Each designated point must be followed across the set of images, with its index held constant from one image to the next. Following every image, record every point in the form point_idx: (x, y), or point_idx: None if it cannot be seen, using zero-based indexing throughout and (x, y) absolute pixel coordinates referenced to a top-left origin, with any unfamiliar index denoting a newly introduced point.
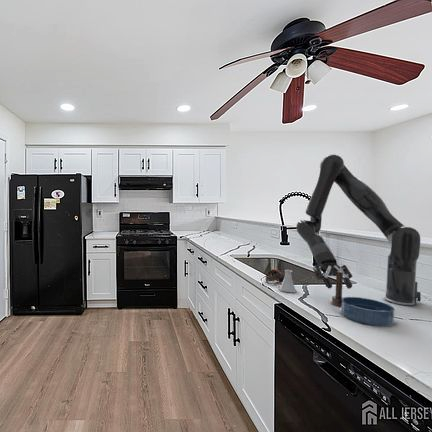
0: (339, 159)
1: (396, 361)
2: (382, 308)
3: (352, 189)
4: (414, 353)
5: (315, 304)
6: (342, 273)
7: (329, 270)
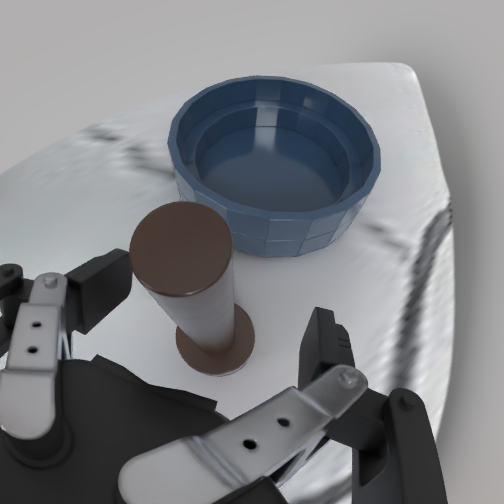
0: None
1: (409, 82)
2: (183, 139)
3: None
4: (355, 72)
5: None
6: (181, 211)
7: (243, 428)
